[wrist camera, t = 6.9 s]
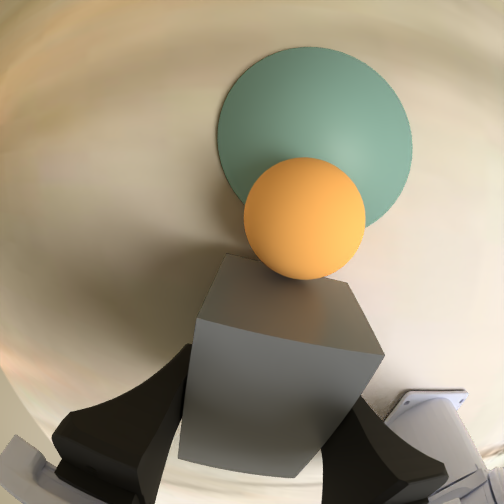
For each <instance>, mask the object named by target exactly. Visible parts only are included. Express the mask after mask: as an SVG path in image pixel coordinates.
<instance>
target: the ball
mask: <svg viewBox="0 0 504 504" xmlns="http://www.w3.org/2000/svg"><path fill="white" fill-rule="evenodd" d="M244 227H245V232H246V236H247V239H248V241H249V244H250V246H251V248H252V249H253V251H254V253H255V254H256V255H257V257H258V258H259V259H260V260H261V261H262V262H263V263H264V264H265V265H266V266H267V267H269V268H270V269H271V270H273V271H275V272H277V273H279V274H281V275H283V276H286V277H289V278H293V279H300V280H311V279H317V278H321V277H324V276H328V275H330V274H332V273H334V272H336V271H337V270H339V269H340V268H342V267H343V266H344V265H345V264H346V263H347V262H348V261H349V260H350V259H351V258H352V257H353V256H354V254H355V252H356V251H357V249H358V247H359V245H360V243H361V241H362V238H363V234H364V229H365V208H364V204H363V200H362V198H361V195H360V193H359V191H358V189H357V187H356V185H355V184H354V183H353V181H352V180H351V179H350V178H349V177H348V176H347V175H346V174H345V173H344V172H343V171H342V170H340V169H339V168H338V167H336V166H334V165H332V164H331V163H329V162H326V161H323V160H320V159H315V158H309V157H301V158H293V159H288V160H285V161H282V162H280V163H278V164H276V165H274V166H272V167H271V168H269V169H268V170H266V171H265V172H264V173H263V174H262V175H261V176H260V177H259V178H258V179H257V181H256V182H255V183H254V185H253V187H252V188H251V190H250V192H249V194H248V197H247V200H246V204H245V209H244Z"/></svg>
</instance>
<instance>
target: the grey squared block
mask: <svg viewBox="0 0 504 504" xmlns="http://www.w3.org/2000/svg"><path fill="white" fill-rule="evenodd" d="M384 356H385V354H384V352H383V350H382V348H381V346H380V344H379V342H378V340H377V338H376V336H375V334H374V332H373V330H372V328H371V326H370V324H369V323H368V321H367V319H366V317H365V315H364V313H363V311H362V309H361V307H360V305H359V304H358V302H357V300H356V298H355V296H354V294H353V292H352V291H351V289H350V287H349V285H348V283H346V282H342V281H338V280H334V279H329V278H325V277H321V278H317V279H311V280H300V279H293V278H289V277H286V276H283V275H281V274H279V273H277V272H275V271H273V270H271V269H270V268H269V267H267V266H266V265H265V264H264V263H263V262H260V261H256V260H251V259H247V258H243V257H239V256H235V255H231V254H227V253H226V255H225V257H224V260H223V262H222V264H221V266H220V268H219V270H218V272H217V275H216V277H215V279H214V281H213V283H212V285H211V287H210V290H209V292H208V294H207V296H206V298H205V301H204V303H203V305H202V307H201V309H200V312H199V314H198V316H197V319H196V325H195V331H194V337H193V344H192V350H191V357H190V363H189V370H188V377H187V385H186V392H185V400H184V408H183V416H182V424H181V433H180V442H179V451H178V459H182V460H185V461H189V462H193V463H197V464H201V465H206V466H210V467H215V468H220V469H225V470H230V471H236V472H242V473H248V474H255V475H263V476H272V477H283V478H295V477H296V476H297V475H298V474H299V473H300V472H301V470H302V469H303V468H304V467H305V466H306V465H307V464H308V463H309V462H310V460H311V459H312V458H313V457H314V456H315V455H316V453H317V452H318V451H319V450H320V449H321V447H322V446H323V445H324V444H325V442H326V441H327V440H328V439H329V437H330V436H331V435H332V434H333V432H334V431H335V430H336V428H337V427H338V426H339V425H340V423H341V422H342V421H343V419H344V418H345V416H346V415H347V414H348V412H349V411H350V409H351V408H352V407H353V405H354V404H355V402H356V401H357V399H358V398H359V396H360V395H361V393H362V392H363V390H364V389H365V387H366V386H367V384H368V383H369V381H370V380H371V378H372V376H373V375H374V373H375V372H376V370H377V368H378V367H379V365H380V363H381V362H382V360H383V358H384Z"/></svg>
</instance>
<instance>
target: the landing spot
mask: <svg viewBox="0 0 504 504" xmlns="http://www.w3.org/2000/svg"><path fill="white" fill-rule="evenodd" d="M217 140H218V150H219V156H220V160H221V165H222V167H223V170H224V173H225V175H226V178H227V180H228V182H229V183H230V185H231V187H232V189H233V191H234V192H235V193H236V195H237V196H238V198H239V199H240V200H241V201H242V202H243V204H244V205H245V204H246V200H247V197H248V194H249V192H250V190H251V188H252V187H253V185H254V183H255V182H256V181H257V179H258V178H259V177H260V176H261V175H262V174H263V173H264V172H265V171H266V170H268V169H269V168H271V167H272V166H274V165H276V164H278V163H280V162H282V161H285V160H288V159H293V158H301V157H309V158H315V159H320V160H323V161H326V162H329V163H331V164H332V165H334V166H336V167H338V168H339V169H340V170H342V171H343V172H344V173H345V174H346V175H347V176H348V177H349V178H350V179H351V180H352V181H353V183H354V184H355V185H356V187H357V189H358V191H359V193H360V195H361V198H362V200H363V204H364V208H365V228H366V227H368V226H369V225H371V224H372V223H374V222H375V221H377V220H378V219H379V218H380V217H381V216H383V215H384V214H385V213H386V212H387V211H388V210H389V209H390V207H391V206H392V205H393V204H394V203H395V201H396V200H397V198H398V197H399V195H400V194H401V192H402V190H403V187H404V185H405V183H406V181H407V178H408V174H409V171H410V166H411V161H412V135H411V130H410V125H409V121H408V118H407V116H406V113H405V110H404V108H403V106H402V104H401V102H400V100H399V98H398V97H397V95H396V94H395V92H394V91H393V89H392V88H391V87H390V86H389V84H388V83H387V82H386V81H385V80H384V79H383V78H382V77H381V76H380V75H379V74H378V73H377V72H376V71H375V70H373V69H372V68H371V67H369V66H368V65H366V64H365V63H363V62H361V61H360V60H358V59H356V58H354V57H352V56H350V55H347V54H345V53H342V52H339V51H335V50H331V49H326V48H318V47H301V48H293V49H288V50H284V51H281V52H277V53H275V54H273V55H270V56H268V57H266V58H264V59H262V60H261V61H259V62H257V63H256V64H255V65H253V66H252V67H251V68H249V69H248V70H247V71H246V72H245V73H244V74H243V75H242V76H241V77H240V78H239V79H238V80H237V82H236V83H235V85H234V86H233V87H232V89H231V90H230V92H229V94H228V96H227V98H226V100H225V102H224V105H223V108H222V111H221V114H220V119H219V124H218V139H217Z"/></svg>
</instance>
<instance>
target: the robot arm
mask: <svg viewBox="0 0 504 504" xmlns="http://www.w3.org/2000/svg"><path fill="white" fill-rule="evenodd" d="M191 350H192V344H189V343H188V344H186V345H185V346H184V347H183V348H182V350H181V351H180V352H179V353H178V354H177V355H176V356H175V357H174V358H173V359H172V360H171V361H170V362H169V363H167V364H166V365H165V366H164V367H163V368H162V369H161V370H159V371H158V372H157V373H155V374H154V375H153V376H152V377H150V378H149V379H148V380H146V381H145V382H143V383H142V384H140V385H139V386H137V387H135V388H134V389H132V390H130V391H128V392H126V393H124V394H122V395H120V396H118V397H116V398H114V399H112V400H109V401H106V402H104V403H101V404H98V405H96V406H93V407H89V408H85V409H81V410H77V411H73V412H70V413H69V414H68V415H67V416H66V417H65V418H64V419H63V420H62V421H61V423H60V424H59V426H58V427H57V429H56V430H55V432H54V433H53V435H52V441H53V444H54V446H55V448H56V449H57V451H58V453H59V455H60V456H61V458H62V460H61V461H60V463H59V465H58V467H56V466H54V465H52V464H51V463H49V462H47V461H46V458H45V457H44V456H43V454H42V453H41V452H40V451H39V450H37V449H36V448H35V447H33V446H32V445H30V444H29V443H27V442H26V441H25V440H23V439H22V438H21V437H19V436H18V435H14V437H13V438H12V440H11V441H10V442H9V443H8V445H7V446H6V448H5V449H4V451H3V452H2V453H1V455H0V485H1V486H2V487H3V488H4V489H5V490H7V491H8V492H9V493H10V494H11V495H12V496H14V497H15V498H16V499H17V500H19V501H20V502H21V503H23V504H155V500H156V496H157V492H158V488H159V485H160V481H161V477H162V474H163V470H164V467H165V463H166V460H167V456H168V453H169V450H170V446H171V443H172V440H173V437H174V435H175V432H176V430H177V428H178V425H179V423H180V421H181V419H182V416H183V408H184V400H185V392H186V385H187V377H188V370H189V363H190V357H191ZM468 395H469V393H468V392H467V391H409V392H407V393H406V394H405V395H404V396H403V398H402V399H401V400H400V402H399V403H398V404H397V406H396V407H395V408H394V410H393V411H392V412H391V414H390V415H389V416H388V417H387V419H386V420H385V421H384V422H383V421H382V420H381V419H380V418H379V417H378V416H377V415H376V414H375V412H374V411H373V410H372V409H371V408H370V407H369V405H368V404H367V403H366V402H365V400H364V399H363V398H362V396H361V395H360V396H359V398H358V399H357V401H356V402H355V404H354V405H353V407H352V408H351V409H350V411H349V412H348V414H347V415H346V416H345V418H344V419H343V421H342V422H341V423H340V425H339V426H338V427H337V428H336V430H335V431H334V432H333V434H332V435H331V436H330V437H329V439H328V440H327V441H326V442H325V444H324V445H323V446H322V447H321V452H322V460H323V490H322V503H321V504H504V468H499V467H495V468H494V469H492V470H488V469H487V468H486V466H485V464H484V462H483V459H482V457H481V455H480V453H479V451H478V449H477V447H476V445H475V444H474V442H473V440H472V438H471V436H470V434H469V432H468V430H467V428H466V427H465V425H464V423H463V421H462V419H461V418H460V416H459V414H458V412H457V410H458V408H459V407H460V406H461V405H462V403H463V402H464V401H465V399H466V398H467V397H468Z"/></svg>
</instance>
